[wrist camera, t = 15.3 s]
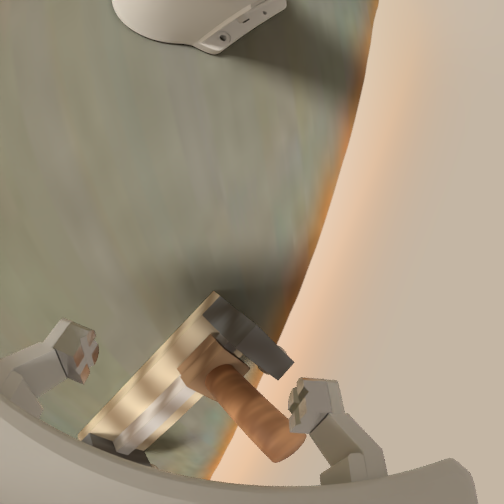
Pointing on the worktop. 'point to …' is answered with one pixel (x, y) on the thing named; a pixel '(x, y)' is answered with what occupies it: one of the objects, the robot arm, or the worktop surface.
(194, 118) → the worktop surface
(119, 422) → the track
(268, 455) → the wooden peg on plate
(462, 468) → the robot arm
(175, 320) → the worktop surface
